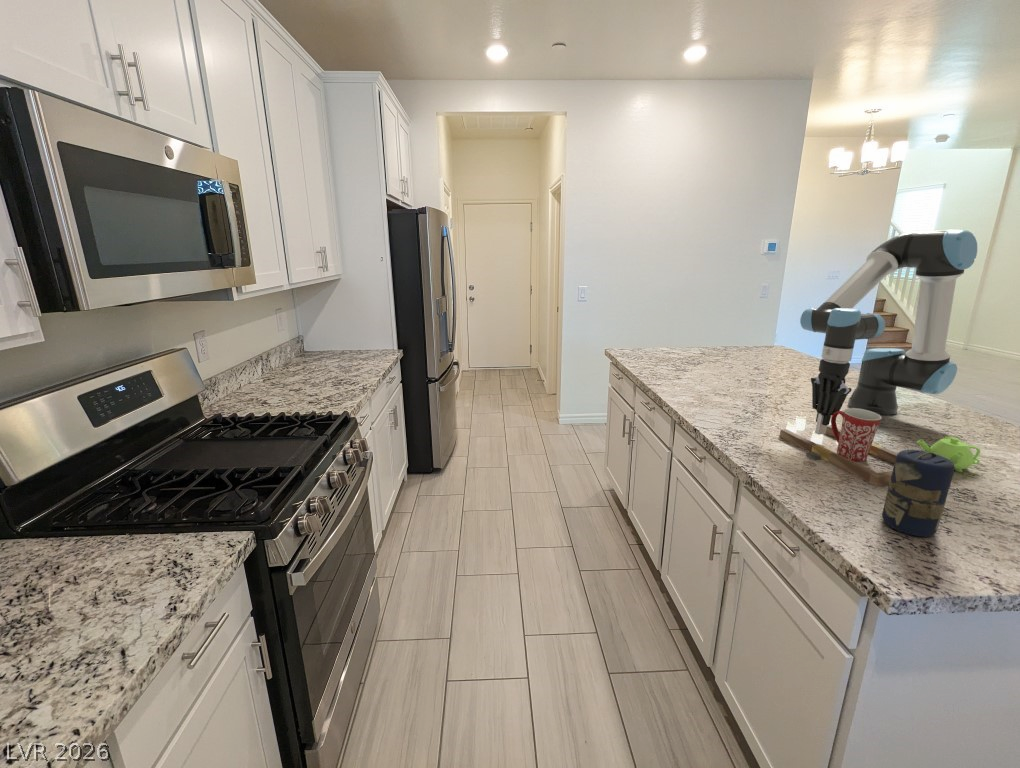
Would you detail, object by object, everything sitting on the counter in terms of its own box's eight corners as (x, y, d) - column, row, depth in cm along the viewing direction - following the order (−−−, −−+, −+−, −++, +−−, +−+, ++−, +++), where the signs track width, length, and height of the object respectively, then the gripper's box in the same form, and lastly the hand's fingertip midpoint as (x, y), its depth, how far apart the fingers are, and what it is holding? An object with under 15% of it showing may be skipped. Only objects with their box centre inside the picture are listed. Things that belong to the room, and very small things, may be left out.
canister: (869, 516, 109) (886, 443, 104) (908, 514, 109) (926, 442, 104) (906, 541, 99) (927, 463, 94) (948, 539, 100) (970, 460, 95)
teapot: (986, 473, 129) (994, 444, 127) (953, 477, 127) (961, 448, 124) (941, 456, 140) (949, 429, 137) (910, 460, 137) (917, 432, 135)
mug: (878, 461, 136) (890, 417, 132) (854, 465, 134) (865, 421, 130) (838, 443, 148) (848, 402, 144) (815, 446, 146) (824, 405, 141)
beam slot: (836, 431, 159) (838, 424, 158) (944, 477, 126) (947, 469, 126) (771, 437, 154) (772, 430, 153) (866, 487, 122) (868, 478, 121)
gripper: (807, 356, 148) (794, 426, 155) (842, 366, 136) (826, 442, 142) (828, 355, 149) (814, 425, 156) (864, 365, 137) (847, 440, 144)
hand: (820, 433), depth 149 cm, fingers closed
